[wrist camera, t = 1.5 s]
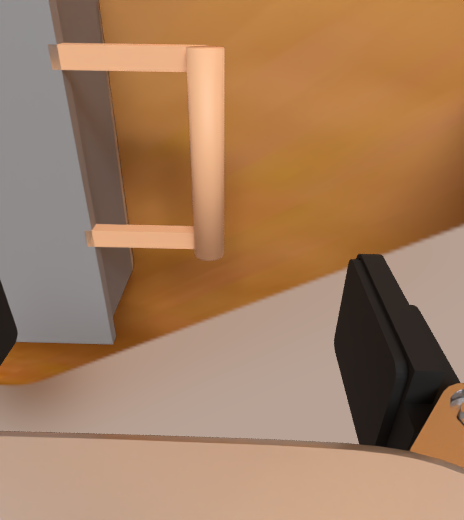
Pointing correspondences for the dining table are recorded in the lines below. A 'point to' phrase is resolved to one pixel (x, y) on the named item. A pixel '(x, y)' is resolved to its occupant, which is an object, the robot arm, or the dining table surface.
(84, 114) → the box
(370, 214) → the dining table surface
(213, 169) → the lid
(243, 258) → the dining table surface
